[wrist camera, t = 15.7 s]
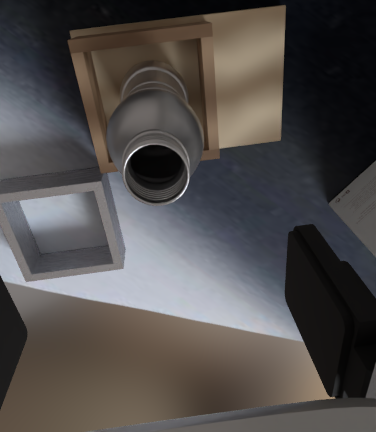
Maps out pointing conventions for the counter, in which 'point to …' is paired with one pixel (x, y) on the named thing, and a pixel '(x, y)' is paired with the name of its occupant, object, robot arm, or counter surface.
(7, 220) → the holder
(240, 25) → the wooden tray
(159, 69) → the plastic bottle
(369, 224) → the supplement box
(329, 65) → the counter surface
